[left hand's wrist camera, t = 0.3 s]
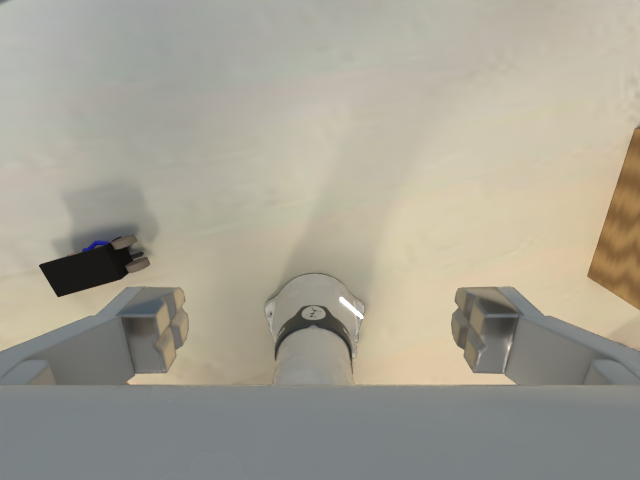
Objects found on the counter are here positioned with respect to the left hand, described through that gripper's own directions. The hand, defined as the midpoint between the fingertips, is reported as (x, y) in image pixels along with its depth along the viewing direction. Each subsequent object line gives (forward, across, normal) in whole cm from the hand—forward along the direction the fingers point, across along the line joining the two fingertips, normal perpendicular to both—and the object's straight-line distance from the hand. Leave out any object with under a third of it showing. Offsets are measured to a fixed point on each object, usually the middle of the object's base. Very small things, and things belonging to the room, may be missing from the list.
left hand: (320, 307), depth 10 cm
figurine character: (+47, -37, -19) cm, 63 cm away
